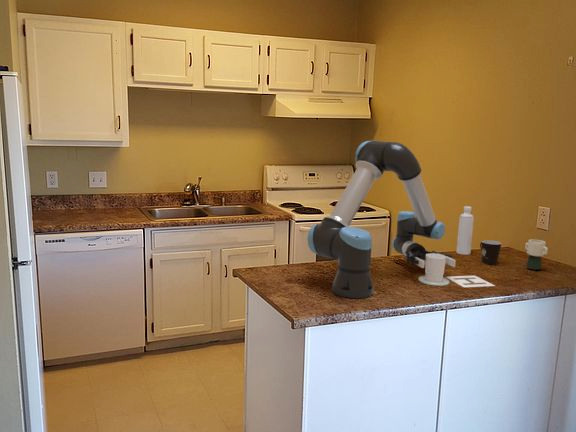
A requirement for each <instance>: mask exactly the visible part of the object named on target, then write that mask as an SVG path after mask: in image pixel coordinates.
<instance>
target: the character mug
mask: <svg viewBox="0 0 576 432" xmlns="http://www.w3.org/2000/svg"><path fill="white" fill-rule="evenodd" d="M524 246H525V247H524V250H526V254H527V255H529V256H528V258H527V261H526V264H525V265H526V268H527V269H529V270H536V271H537V270H542V258H541V257H543V256H544V255H545V256H546V255H547V254H548V250H549V248H548V247H547V246H546V241H545V240H541V239H528V241H527V242H526V243H525V245H524Z"/></svg>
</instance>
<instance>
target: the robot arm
mask: <svg viewBox="0 0 576 432" xmlns="http://www.w3.org/2000/svg"><path fill="white" fill-rule="evenodd" d="M354 160H355V161H354V162H355V168H356V170H355V172H354V173H353V175H352V176H351V178H350V180H349V182H348V183H347V185H346V187H345V189H343V192H342V194H341V195H340V197H339V199H338V201H337V202H336V204H335V206H334V207H333V209H332V211H331V212H330V214H329V216H328V215H327V216H324V217H323V219H322V220H321V222H320V223H316V224H313V225H312V226H311V227H310V228H309V230H308V232H307V239H306V240H307V246H308V248H309V250H310V252H312V253H313V254H316V255H317V256H319V257H324V258H328V259H331V260H335V261H338V262H337V267H338V268H337V272H336V274H335V277H334V279H333V281H332V285H331V286H332V287H331V291H332V293H333V294H335V295H337V296H340V297H344V298H349V299H351V298H352V299H364V298H368V297H371V296H373V295H374V286H373V285H374V284H373V281H372V276H371V272H370V270H371V259H372V257H371V256H372V247H373V244H372V241H373V240H372V234H371V233H370V232H369V231H367V230H365V229H363V228H359V227H355V226H354V227H353V226H351V223H352V221H353V220H354V219H355V216H356V215H357V213H358V211H359V209H360V208H361V205H362V204H363V202H364V200H365V198H367V195H368V193H369V192H370V190H371V187H372V186H373V185H374V183H375V181H376V180H379V179H381V178H382V176H383V175H384V173H385V172H392V173H394V174H396V177H397V179H398V180H399V181H401V182H402V184H403V187H404V189H405V192H406V195H407V197H408V200H409V203H410V205H411V207H412V210H413V211H407V210H405V211H404V210H402V211H399V212H398V215H397V221H396V222H397V223H396V235H395V237H393V240H392V241H391V247H392V248H393V250H395V251H396V252H397V253H398V254H401V255H402V256H404V258H405V259H406V261H405V262H406V264H410V265H411V266H414V265H416V266H418V267H420V268H421V269H424V268H425V262H426V254H430V253H434V254H441V255H444V256H446V262H445V265H448V266H451V267H453V268H456V259H453V256H452V255H450V254H445V253H443V252H439V251H435V250H432V251H428V250H426V248H425V247H424V245H422V244H420V243H418V242H415V241H414V235H415V236H419V237H423V238H424V237H425V238H427V239H433V240H441V239H442V238H443V237H444V236H445V233H446V225H445V224H444V223H443V222H441V221H438V219H437V218H436V215H435V213H434V209H433V207H432V204H431V200H430V198H429V195H428V192H427V189H426V187H425V184H424V181H423V178H422V175H421V173H422V168H421V165H420V163H419V161H418V160H419V159H417V157H416V156H415V154H414V153H413V152H412V150H410V148H408V147H407V146H406V145H404V144H403V143H400V142H397V141H379V140H366V141H364V142H362V143H360V144H359V146H358V147H357V148H356V151H355V157H354Z"/></svg>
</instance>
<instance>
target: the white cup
mask: <svg viewBox="0 0 576 432" xmlns="http://www.w3.org/2000/svg"><path fill="white" fill-rule="evenodd" d="M445 262H446V256H444V255H441V254H434V253H430V254H426V260H425V264H424V268H425V269H424V273H425V274H424V276H425V279H426V280H428V281H431V282H442V281H443V278H444V274H445V268H446V263H445Z"/></svg>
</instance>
